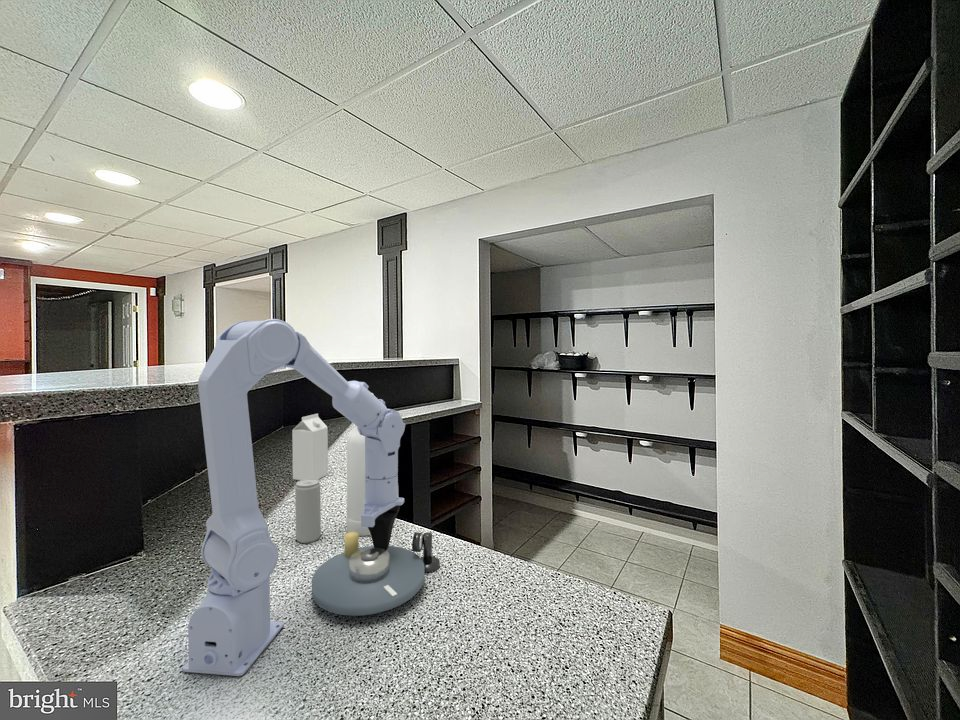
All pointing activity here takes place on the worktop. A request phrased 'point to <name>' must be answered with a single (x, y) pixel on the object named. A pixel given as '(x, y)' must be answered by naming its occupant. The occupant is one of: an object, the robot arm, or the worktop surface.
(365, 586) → the turntable
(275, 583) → the worktop surface
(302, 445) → the milk carton
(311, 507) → the beverage can
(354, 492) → the bottle
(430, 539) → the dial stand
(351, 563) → the cover
